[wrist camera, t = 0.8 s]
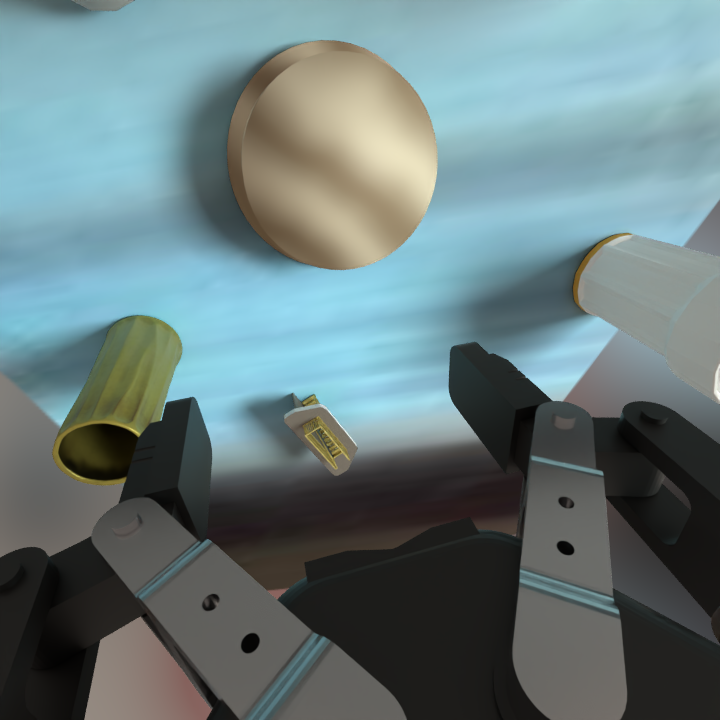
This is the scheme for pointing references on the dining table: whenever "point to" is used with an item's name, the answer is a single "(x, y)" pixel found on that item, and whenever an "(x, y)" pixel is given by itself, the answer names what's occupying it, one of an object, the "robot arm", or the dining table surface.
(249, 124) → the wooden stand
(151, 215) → the dining table surface
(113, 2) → the salt shaker
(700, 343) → the cup
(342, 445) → the platform
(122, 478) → the vase
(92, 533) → the robot arm
